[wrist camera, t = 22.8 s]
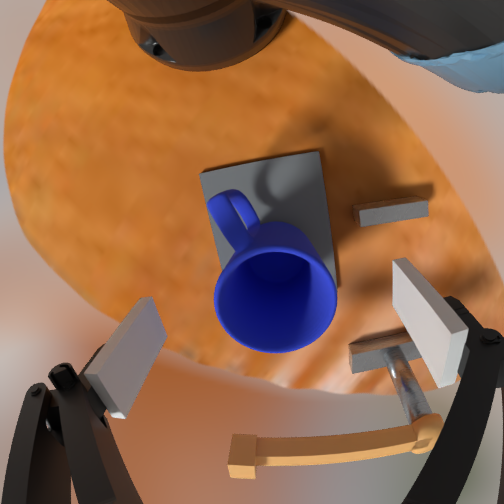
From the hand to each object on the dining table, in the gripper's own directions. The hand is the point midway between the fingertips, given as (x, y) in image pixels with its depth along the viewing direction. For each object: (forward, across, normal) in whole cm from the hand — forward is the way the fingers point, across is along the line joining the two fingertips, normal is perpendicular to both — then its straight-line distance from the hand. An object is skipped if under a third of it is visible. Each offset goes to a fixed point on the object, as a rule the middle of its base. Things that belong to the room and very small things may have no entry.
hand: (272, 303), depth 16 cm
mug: (+14, -1, -1) cm, 14 cm away
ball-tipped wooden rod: (+1, +4, -15) cm, 16 cm away
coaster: (+14, 0, -1) cm, 14 cm away
